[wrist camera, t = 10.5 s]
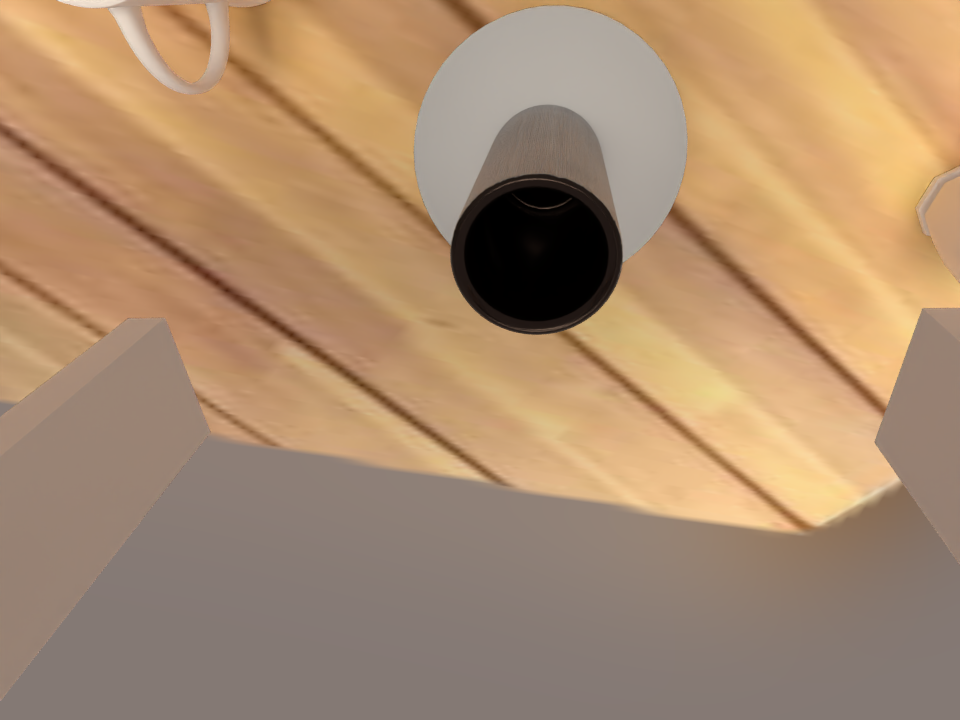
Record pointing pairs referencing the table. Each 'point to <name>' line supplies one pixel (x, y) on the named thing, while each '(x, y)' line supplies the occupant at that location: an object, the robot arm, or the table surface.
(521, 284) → the grey tube
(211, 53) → the white ceramic jug
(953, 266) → the cup
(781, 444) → the table surface
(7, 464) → the robot arm
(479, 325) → the table surface
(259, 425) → the table surface
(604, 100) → the stool
